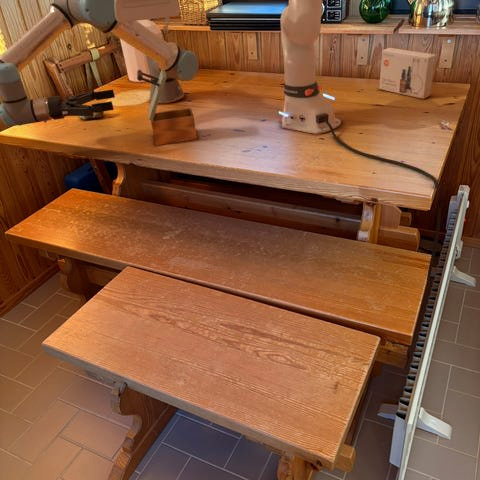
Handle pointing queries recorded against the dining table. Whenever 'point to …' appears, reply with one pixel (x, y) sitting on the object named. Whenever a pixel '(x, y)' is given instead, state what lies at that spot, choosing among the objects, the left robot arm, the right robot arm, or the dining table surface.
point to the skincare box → (407, 72)
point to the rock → (96, 115)
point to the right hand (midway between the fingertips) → (151, 34)
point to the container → (138, 54)
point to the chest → (173, 126)
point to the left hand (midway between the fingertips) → (113, 99)
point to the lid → (157, 91)
